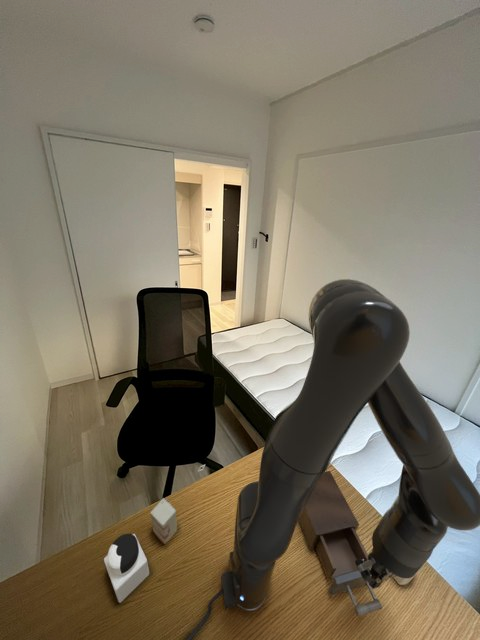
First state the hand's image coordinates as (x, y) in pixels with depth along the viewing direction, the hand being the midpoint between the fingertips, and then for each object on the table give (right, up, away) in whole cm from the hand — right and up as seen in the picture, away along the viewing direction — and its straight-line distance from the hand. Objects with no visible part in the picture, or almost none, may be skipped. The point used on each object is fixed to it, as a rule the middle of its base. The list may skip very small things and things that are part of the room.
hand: (371, 581), depth 51 cm
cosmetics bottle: (-48, -3, +15) cm, 51 cm away
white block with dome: (-55, -6, +7) cm, 55 cm away
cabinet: (-5, -3, +21) cm, 22 cm away
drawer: (-2, -7, +11) cm, 13 cm away
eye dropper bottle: (+13, -10, +11) cm, 20 cm away
